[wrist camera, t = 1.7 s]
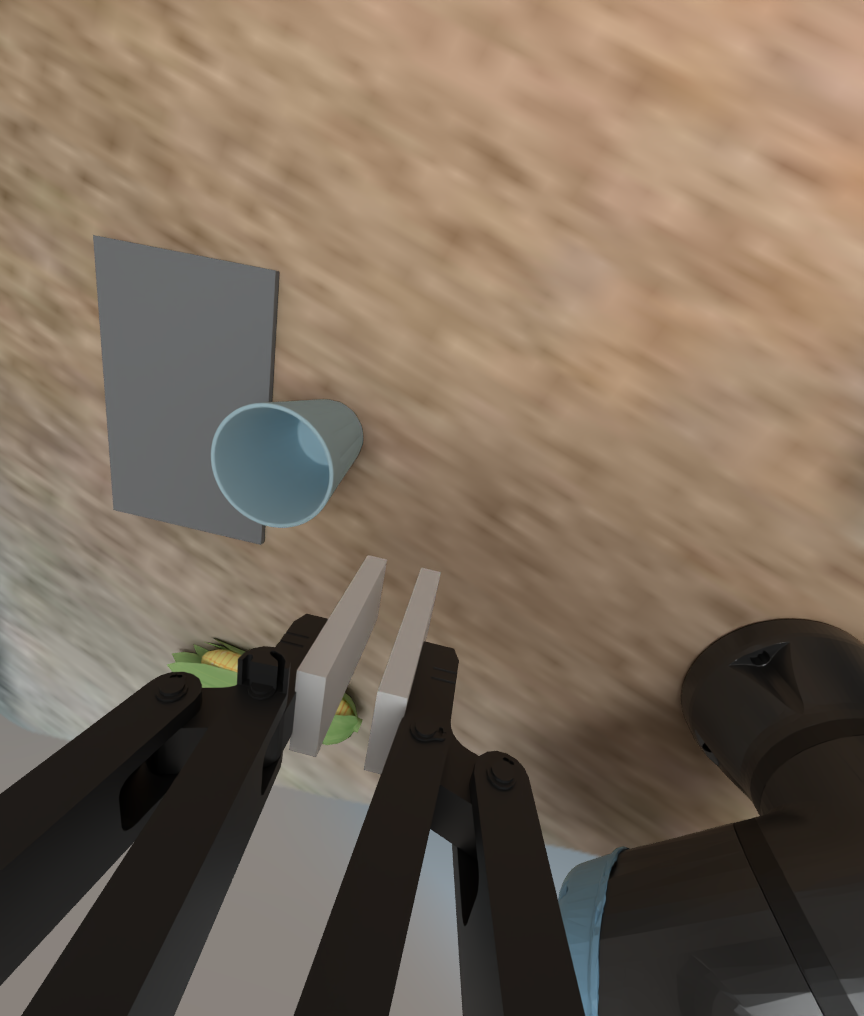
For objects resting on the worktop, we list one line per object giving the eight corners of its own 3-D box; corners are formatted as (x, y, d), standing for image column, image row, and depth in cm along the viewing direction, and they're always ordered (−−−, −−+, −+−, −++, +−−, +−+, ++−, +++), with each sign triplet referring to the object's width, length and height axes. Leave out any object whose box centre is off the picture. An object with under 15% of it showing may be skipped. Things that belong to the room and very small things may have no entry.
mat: (279, 271, 34) (275, 270, 33) (264, 541, 42) (261, 544, 41) (99, 236, 35) (93, 235, 34) (118, 507, 43) (113, 509, 42)
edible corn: (344, 763, 44) (353, 743, 42) (153, 678, 45) (149, 652, 42) (364, 714, 48) (374, 692, 46) (189, 636, 49) (187, 610, 46)
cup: (307, 364, 36) (236, 377, 26) (394, 417, 36) (354, 449, 27) (270, 447, 39) (193, 485, 29) (351, 495, 39) (301, 549, 30)
